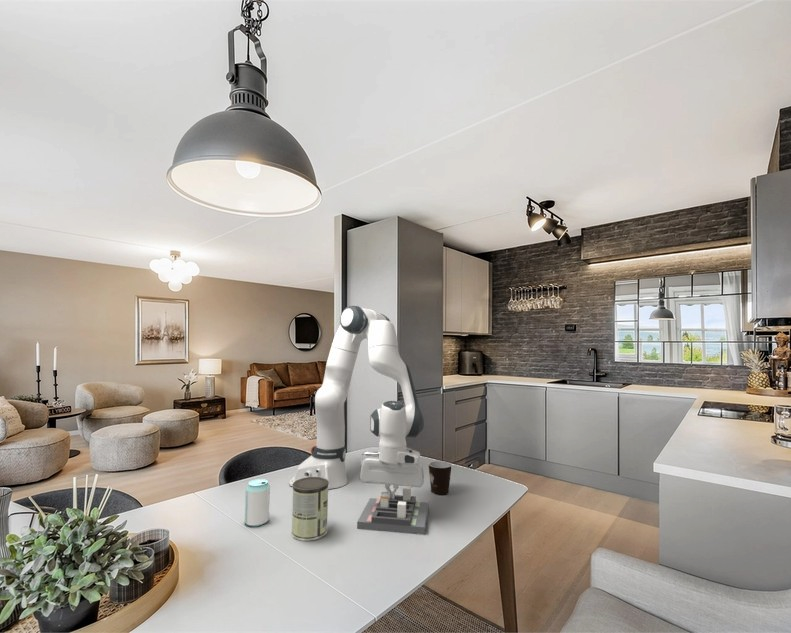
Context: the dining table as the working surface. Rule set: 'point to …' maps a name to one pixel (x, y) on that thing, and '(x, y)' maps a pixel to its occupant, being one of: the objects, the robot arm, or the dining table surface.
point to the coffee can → (310, 508)
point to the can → (257, 502)
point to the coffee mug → (439, 477)
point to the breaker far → (407, 493)
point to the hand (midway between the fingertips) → (391, 498)
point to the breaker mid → (384, 500)
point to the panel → (394, 516)
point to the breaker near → (401, 509)
